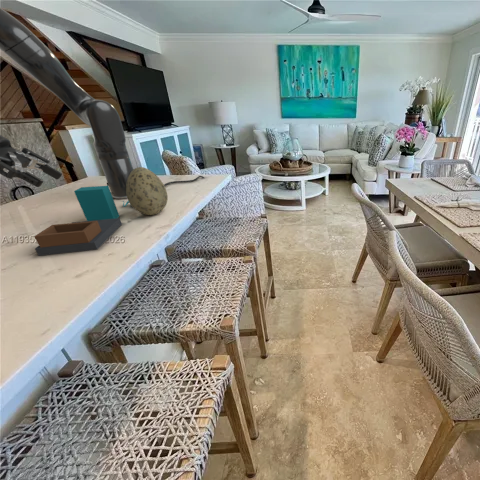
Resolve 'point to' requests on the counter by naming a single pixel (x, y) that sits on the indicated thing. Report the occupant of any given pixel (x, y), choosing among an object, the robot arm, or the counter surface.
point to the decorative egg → (146, 191)
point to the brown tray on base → (75, 236)
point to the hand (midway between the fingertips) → (51, 180)
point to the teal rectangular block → (97, 203)
